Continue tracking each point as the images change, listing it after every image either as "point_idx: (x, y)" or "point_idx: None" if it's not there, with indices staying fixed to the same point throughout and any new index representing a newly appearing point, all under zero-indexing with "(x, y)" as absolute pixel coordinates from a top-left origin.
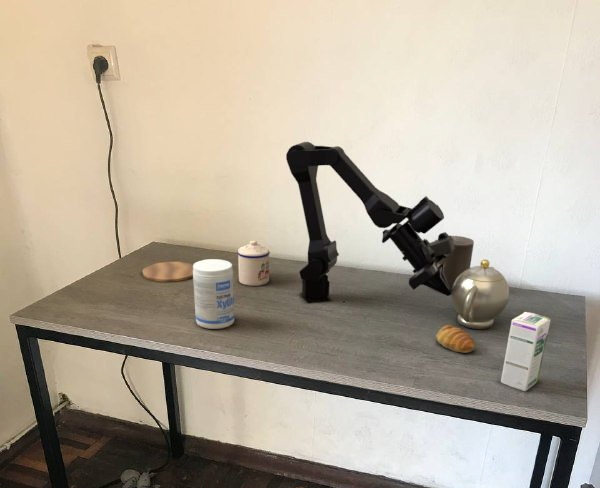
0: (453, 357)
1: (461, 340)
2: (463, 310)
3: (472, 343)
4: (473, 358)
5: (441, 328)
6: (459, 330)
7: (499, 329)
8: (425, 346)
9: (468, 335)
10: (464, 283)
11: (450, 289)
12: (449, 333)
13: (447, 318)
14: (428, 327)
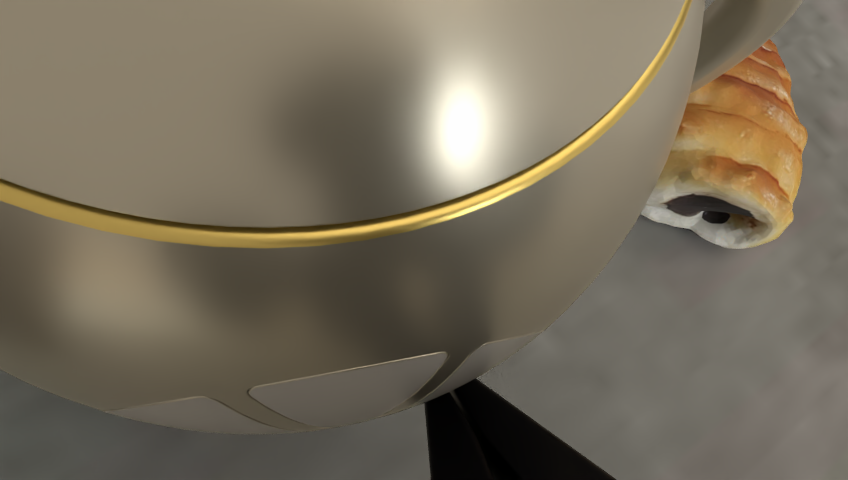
0: (794, 97)
1: (774, 65)
2: (709, 81)
3: None
4: None
5: (786, 212)
6: (741, 97)
7: None
8: (812, 265)
9: None
10: (696, 61)
11: (429, 420)
12: (799, 138)
13: None
14: (599, 404)
